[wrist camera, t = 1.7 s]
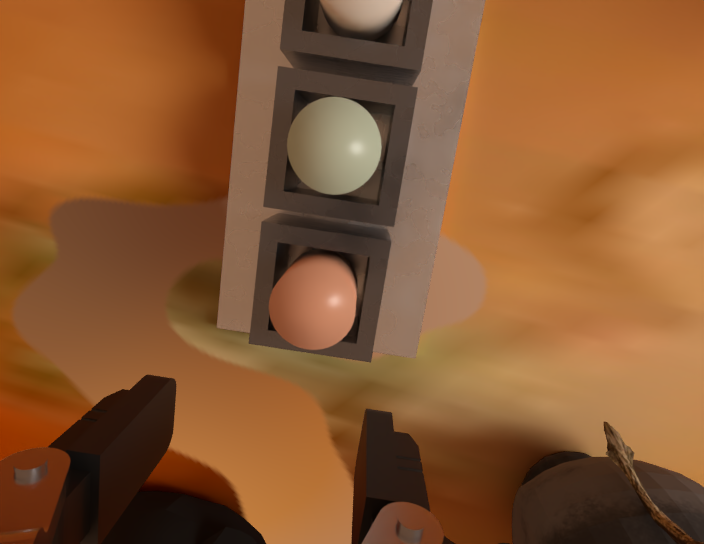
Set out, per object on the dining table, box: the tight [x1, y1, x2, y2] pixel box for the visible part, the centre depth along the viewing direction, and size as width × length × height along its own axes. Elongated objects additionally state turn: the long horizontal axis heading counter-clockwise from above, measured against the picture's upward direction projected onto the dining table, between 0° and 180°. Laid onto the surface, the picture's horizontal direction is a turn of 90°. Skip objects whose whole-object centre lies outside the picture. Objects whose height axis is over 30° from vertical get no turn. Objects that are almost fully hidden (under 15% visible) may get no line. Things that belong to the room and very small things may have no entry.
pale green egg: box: [287, 97, 381, 195], centre depth 24 cm, size 4×4×5 cm
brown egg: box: [269, 249, 358, 350], centre depth 25 cm, size 4×4×5 cm
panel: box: [217, 0, 485, 362], centre depth 27 cm, size 14×26×6 cm, turn 172°
